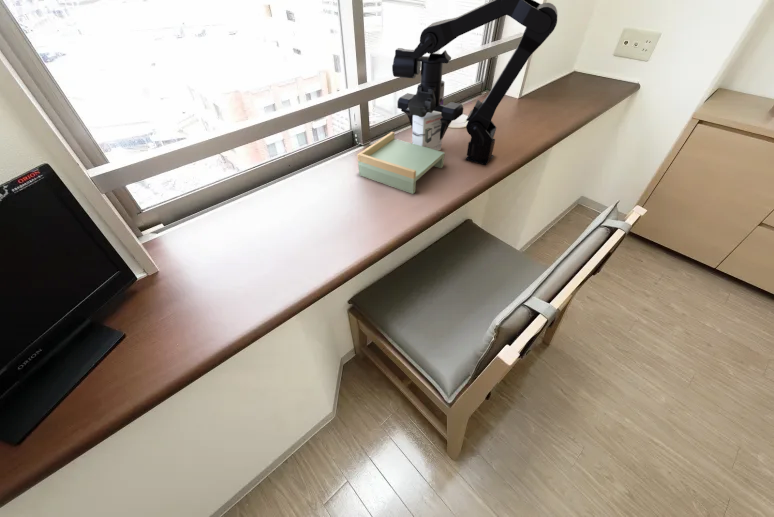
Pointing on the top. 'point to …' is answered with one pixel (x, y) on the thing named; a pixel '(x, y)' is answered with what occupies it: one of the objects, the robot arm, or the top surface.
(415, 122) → the ink box
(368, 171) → the shelf
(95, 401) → the top surface
